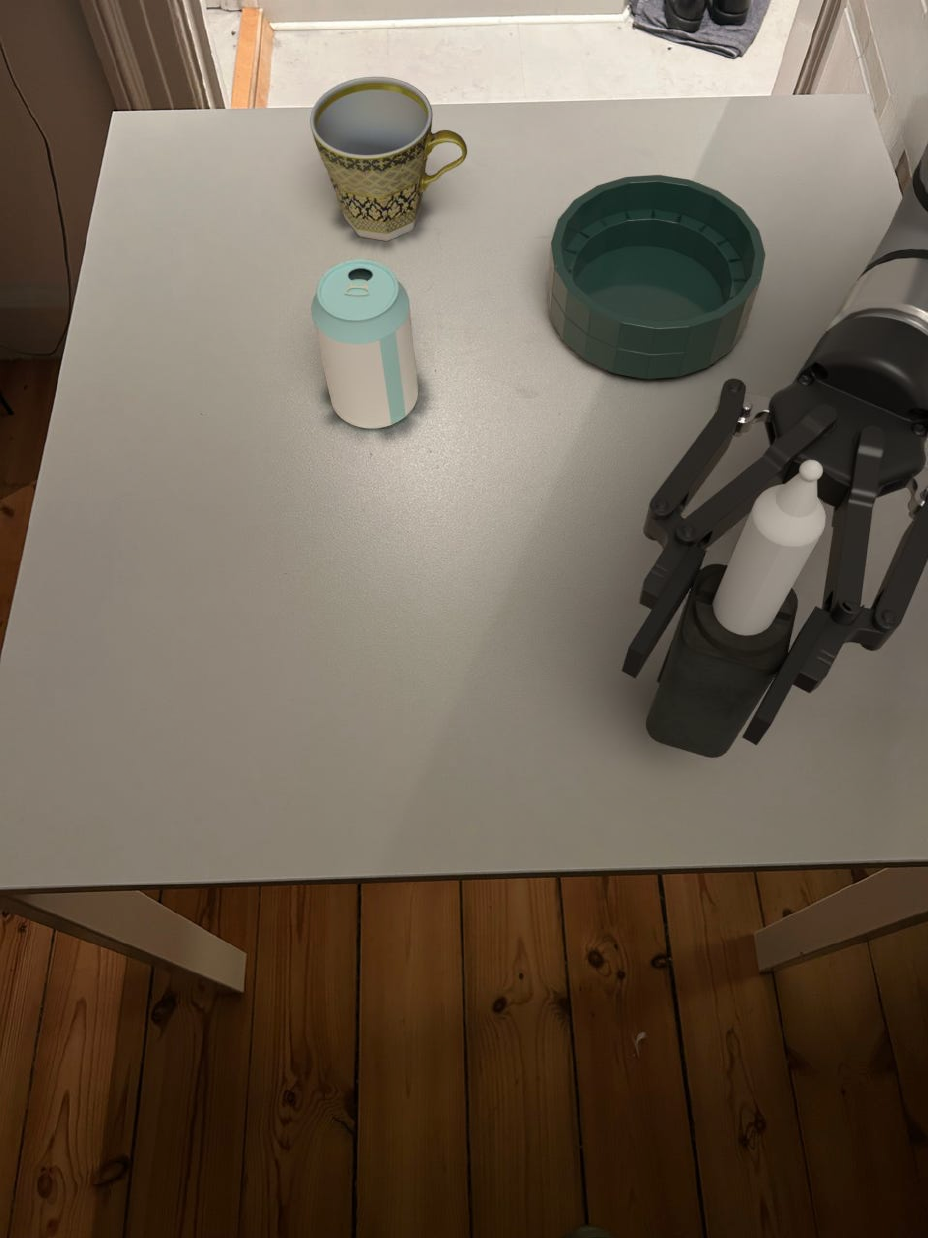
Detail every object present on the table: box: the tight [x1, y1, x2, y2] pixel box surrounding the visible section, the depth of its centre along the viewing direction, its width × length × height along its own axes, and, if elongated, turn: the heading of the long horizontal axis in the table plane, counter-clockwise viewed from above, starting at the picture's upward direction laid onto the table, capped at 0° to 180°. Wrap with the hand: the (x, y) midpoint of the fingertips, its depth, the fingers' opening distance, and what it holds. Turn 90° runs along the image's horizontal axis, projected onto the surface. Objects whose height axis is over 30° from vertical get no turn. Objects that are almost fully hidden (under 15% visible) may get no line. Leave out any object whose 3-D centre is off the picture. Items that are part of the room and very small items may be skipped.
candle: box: [645, 460, 826, 759], centre depth 48 cm, size 5×5×25 cm
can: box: [311, 258, 419, 429], centre depth 75 cm, size 7×7×12 cm
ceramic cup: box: [309, 76, 468, 242], centre depth 85 cm, size 13×10×10 cm
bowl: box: [546, 174, 766, 380], centre depth 81 cm, size 17×17×6 cm
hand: (693, 695), depth 46 cm, fingers closed on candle, 6 cm apart
